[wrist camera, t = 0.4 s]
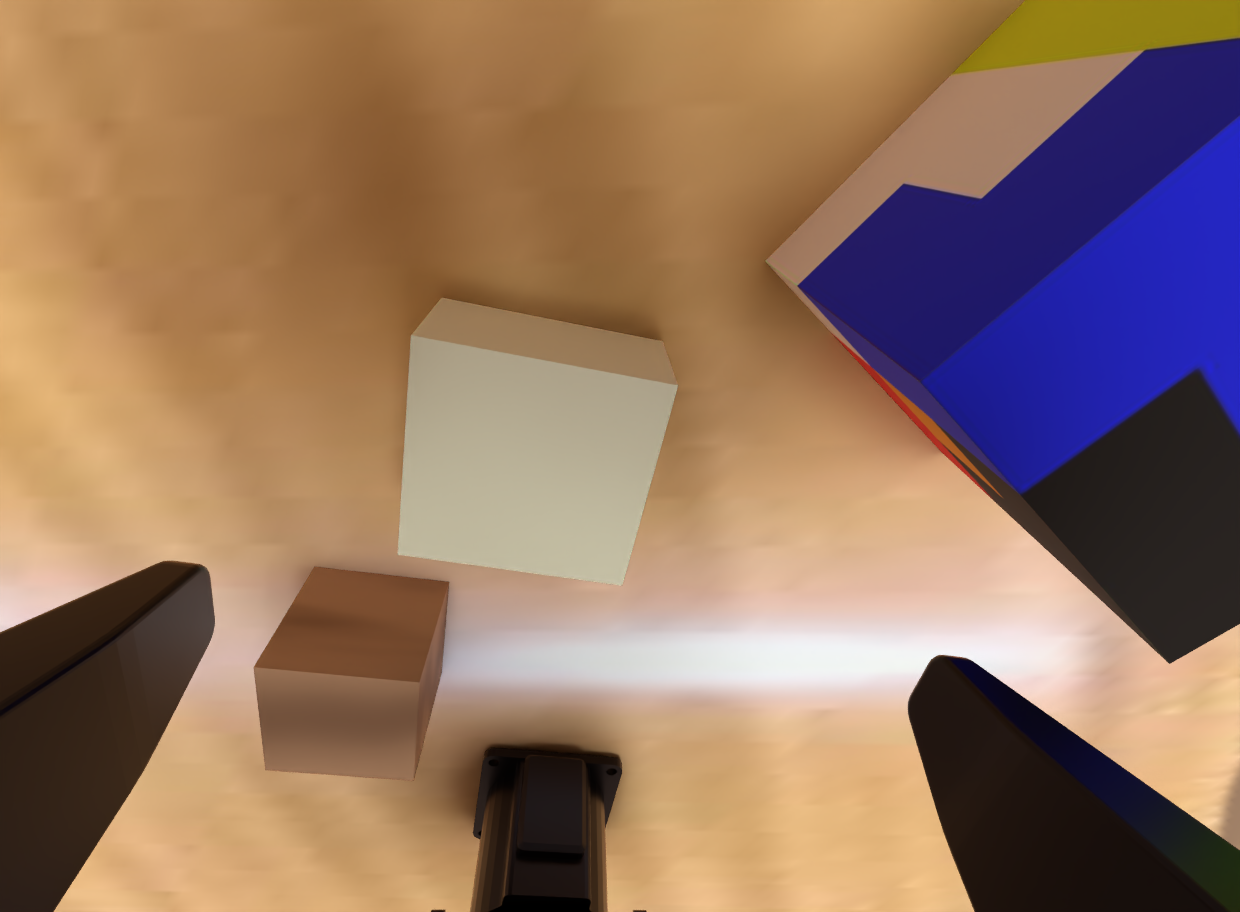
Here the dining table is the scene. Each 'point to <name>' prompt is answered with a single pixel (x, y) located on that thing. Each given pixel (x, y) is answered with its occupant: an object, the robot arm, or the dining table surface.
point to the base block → (529, 441)
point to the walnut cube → (352, 675)
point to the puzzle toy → (1067, 293)
